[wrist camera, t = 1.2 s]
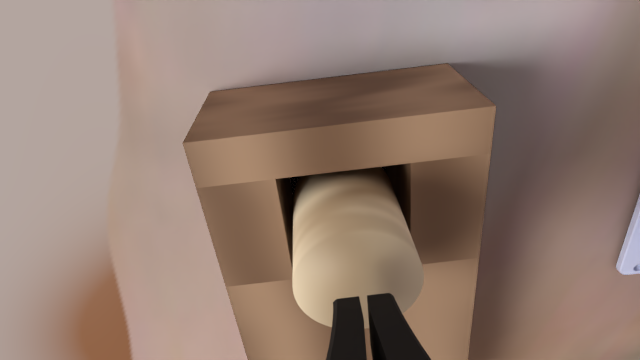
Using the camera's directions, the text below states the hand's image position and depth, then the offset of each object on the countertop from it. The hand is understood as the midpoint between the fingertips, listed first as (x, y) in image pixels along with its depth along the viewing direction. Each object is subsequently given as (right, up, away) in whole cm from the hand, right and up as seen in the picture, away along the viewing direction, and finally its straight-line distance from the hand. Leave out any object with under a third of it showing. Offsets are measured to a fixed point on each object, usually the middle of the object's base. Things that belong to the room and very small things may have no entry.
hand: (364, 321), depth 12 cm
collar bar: (0, 0, +11) cm, 11 cm away
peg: (0, +3, +5) cm, 6 cm away
